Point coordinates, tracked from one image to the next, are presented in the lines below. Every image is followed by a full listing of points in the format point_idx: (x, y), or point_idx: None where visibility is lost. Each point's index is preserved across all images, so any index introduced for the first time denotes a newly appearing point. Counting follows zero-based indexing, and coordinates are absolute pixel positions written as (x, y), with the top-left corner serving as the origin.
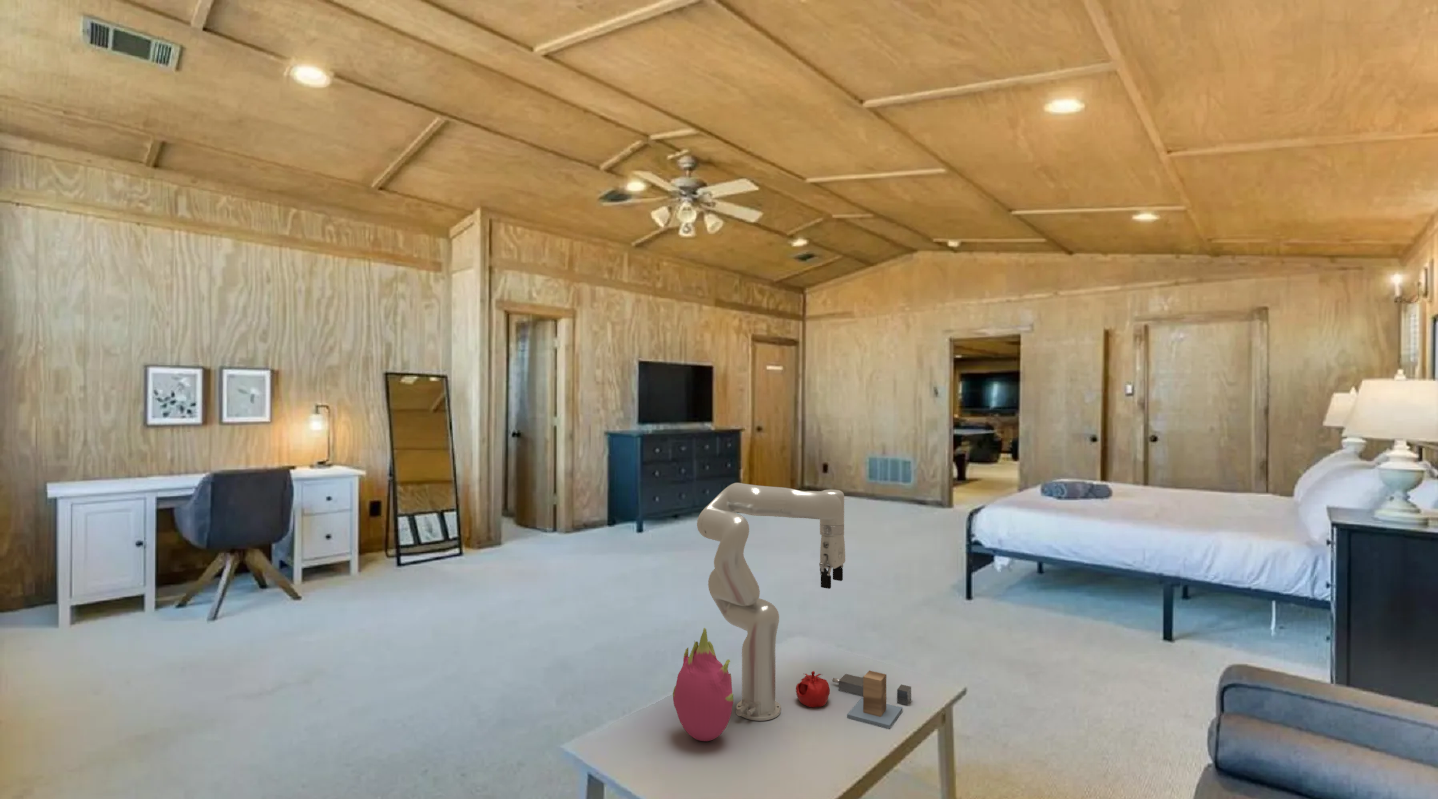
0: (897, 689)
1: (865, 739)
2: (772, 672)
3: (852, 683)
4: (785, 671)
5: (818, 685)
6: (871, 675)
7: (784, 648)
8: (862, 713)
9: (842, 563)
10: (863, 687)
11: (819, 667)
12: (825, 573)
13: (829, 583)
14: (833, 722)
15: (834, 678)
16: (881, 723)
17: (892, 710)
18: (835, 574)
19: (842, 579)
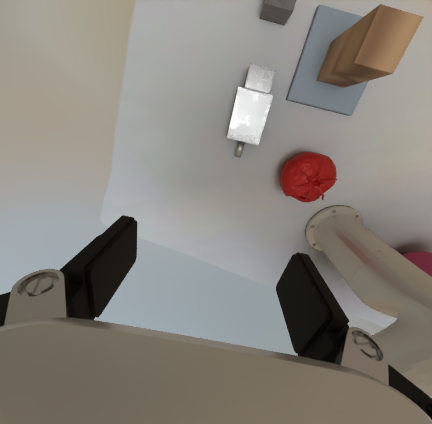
0: (292, 10)
1: (422, 72)
2: (385, 244)
3: (263, 119)
4: (213, 222)
5: (327, 170)
6: (385, 51)
7: (143, 236)
8: (347, 88)
9: (130, 344)
10: (374, 78)
11: (184, 183)
12: (395, 374)
13: (316, 277)
14: (362, 134)
15: (239, 154)
16: None
17: (334, 27)
18: (120, 270)
19: (125, 218)
